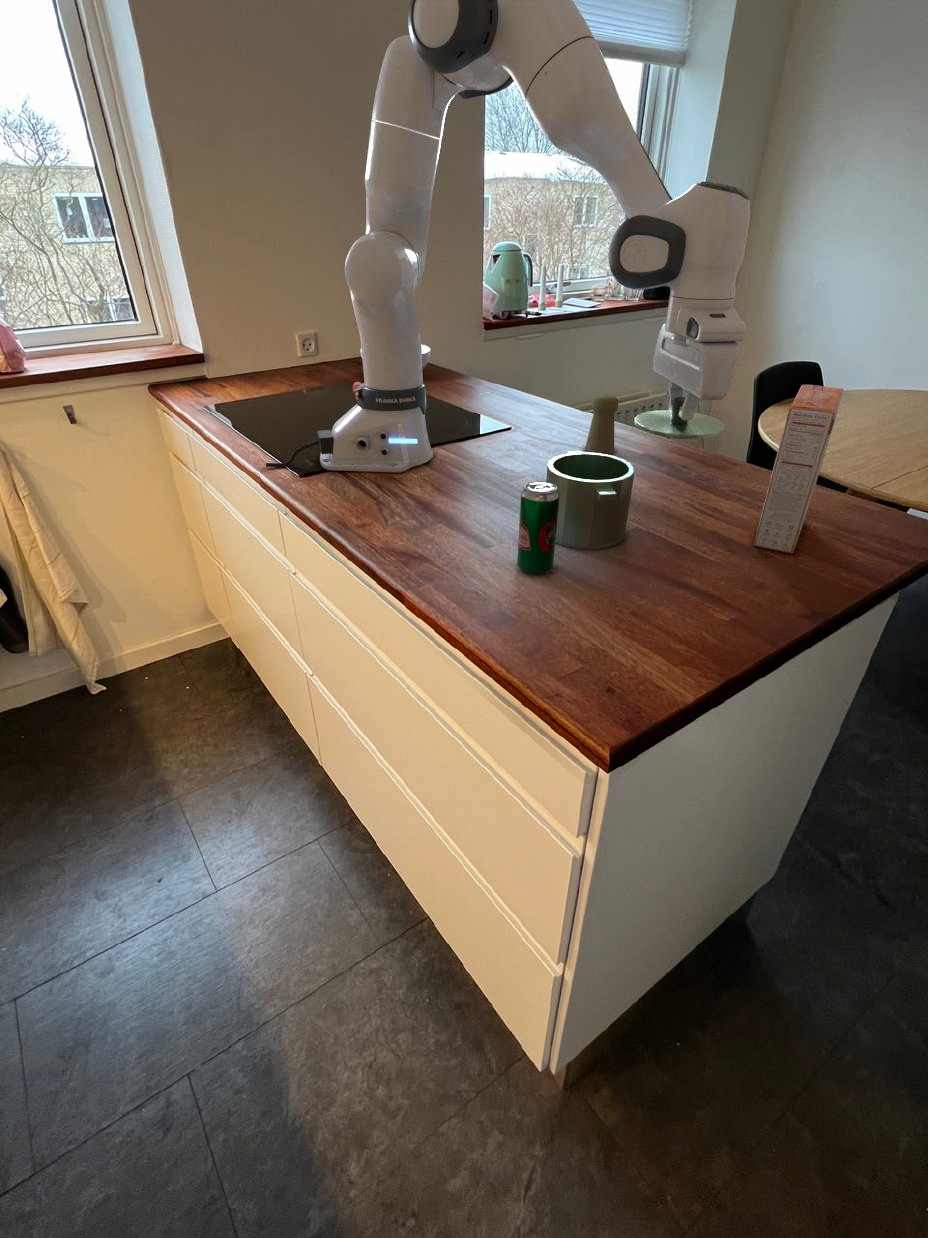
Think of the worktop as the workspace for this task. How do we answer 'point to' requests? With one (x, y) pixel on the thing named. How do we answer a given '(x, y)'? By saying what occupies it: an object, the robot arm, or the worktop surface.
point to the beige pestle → (602, 425)
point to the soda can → (537, 527)
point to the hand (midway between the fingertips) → (680, 415)
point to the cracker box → (797, 466)
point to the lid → (679, 423)
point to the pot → (591, 498)
